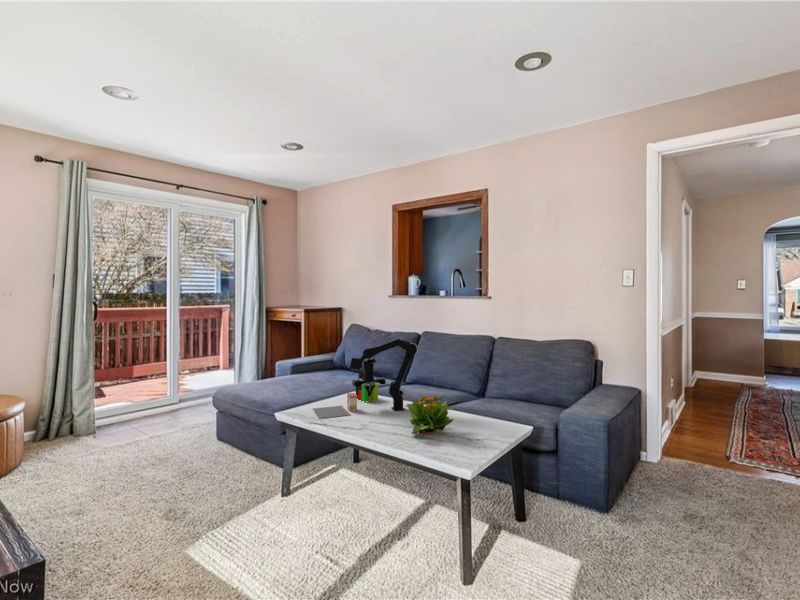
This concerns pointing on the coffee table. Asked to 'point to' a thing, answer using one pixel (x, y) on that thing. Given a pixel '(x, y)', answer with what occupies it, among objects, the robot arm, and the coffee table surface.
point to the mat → (331, 412)
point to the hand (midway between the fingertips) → (368, 396)
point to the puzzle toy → (363, 395)
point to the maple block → (351, 401)
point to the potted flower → (429, 415)
